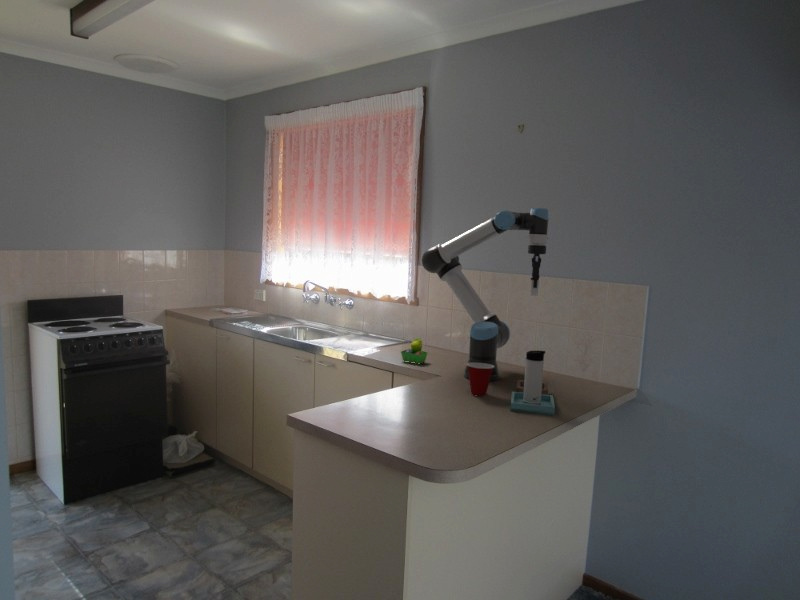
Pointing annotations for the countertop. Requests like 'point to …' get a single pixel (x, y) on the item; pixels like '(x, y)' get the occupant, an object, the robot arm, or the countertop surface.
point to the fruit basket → (415, 352)
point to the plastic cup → (479, 377)
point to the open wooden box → (521, 387)
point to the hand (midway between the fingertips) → (534, 294)
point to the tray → (545, 407)
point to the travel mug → (533, 377)
